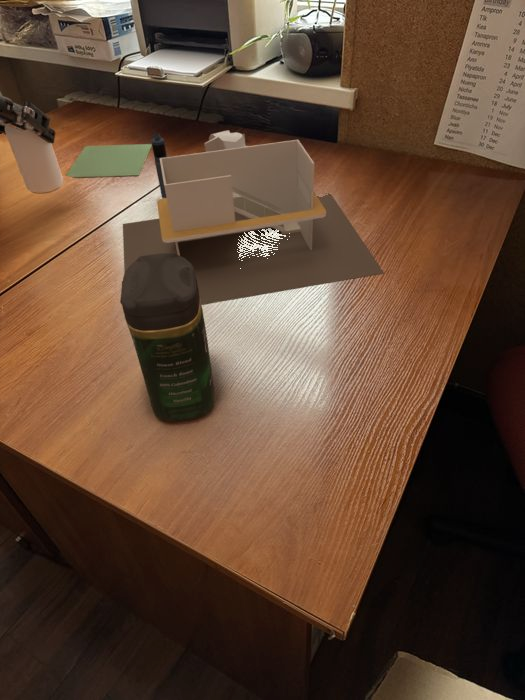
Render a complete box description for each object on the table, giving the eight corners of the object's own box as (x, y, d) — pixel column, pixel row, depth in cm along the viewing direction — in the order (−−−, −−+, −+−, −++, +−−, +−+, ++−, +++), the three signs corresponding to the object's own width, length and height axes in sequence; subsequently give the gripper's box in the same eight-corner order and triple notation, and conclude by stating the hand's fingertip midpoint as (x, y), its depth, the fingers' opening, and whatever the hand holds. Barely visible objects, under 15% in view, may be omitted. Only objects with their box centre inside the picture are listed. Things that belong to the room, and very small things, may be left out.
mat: (64, 178, 108) (64, 177, 107) (85, 146, 119) (85, 146, 119) (138, 175, 107) (138, 175, 107) (152, 144, 118) (152, 143, 118)
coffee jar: (219, 419, 60) (198, 297, 47) (152, 429, 59) (112, 308, 46) (212, 362, 66) (192, 241, 53) (152, 370, 66) (117, 250, 53)
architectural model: (170, 280, 80) (152, 193, 69) (164, 238, 89) (147, 155, 78) (326, 255, 83) (330, 167, 72) (304, 216, 92) (306, 133, 81)
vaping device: (167, 191, 101) (156, 130, 93) (187, 198, 99) (177, 136, 90) (158, 196, 100) (146, 135, 91) (178, 203, 97) (167, 141, 89)
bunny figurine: (234, 123, 115) (264, 137, 104) (237, 146, 118) (266, 162, 107) (195, 132, 112) (222, 148, 101) (200, 156, 115) (226, 173, 104)
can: (69, 187, 90) (46, 118, 82) (33, 198, 88) (6, 128, 79) (57, 174, 94) (35, 107, 86) (23, 184, 92) (-4, 116, 83)
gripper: (2, 59, 68) (75, 117, 84) (-82, 54, 72) (3, 111, 88) (-7, 114, 68) (67, 161, 85) (-91, 107, 72) (-4, 154, 88)
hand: (34, 135), depth 86 cm, fingers closed on can, 6 cm apart
